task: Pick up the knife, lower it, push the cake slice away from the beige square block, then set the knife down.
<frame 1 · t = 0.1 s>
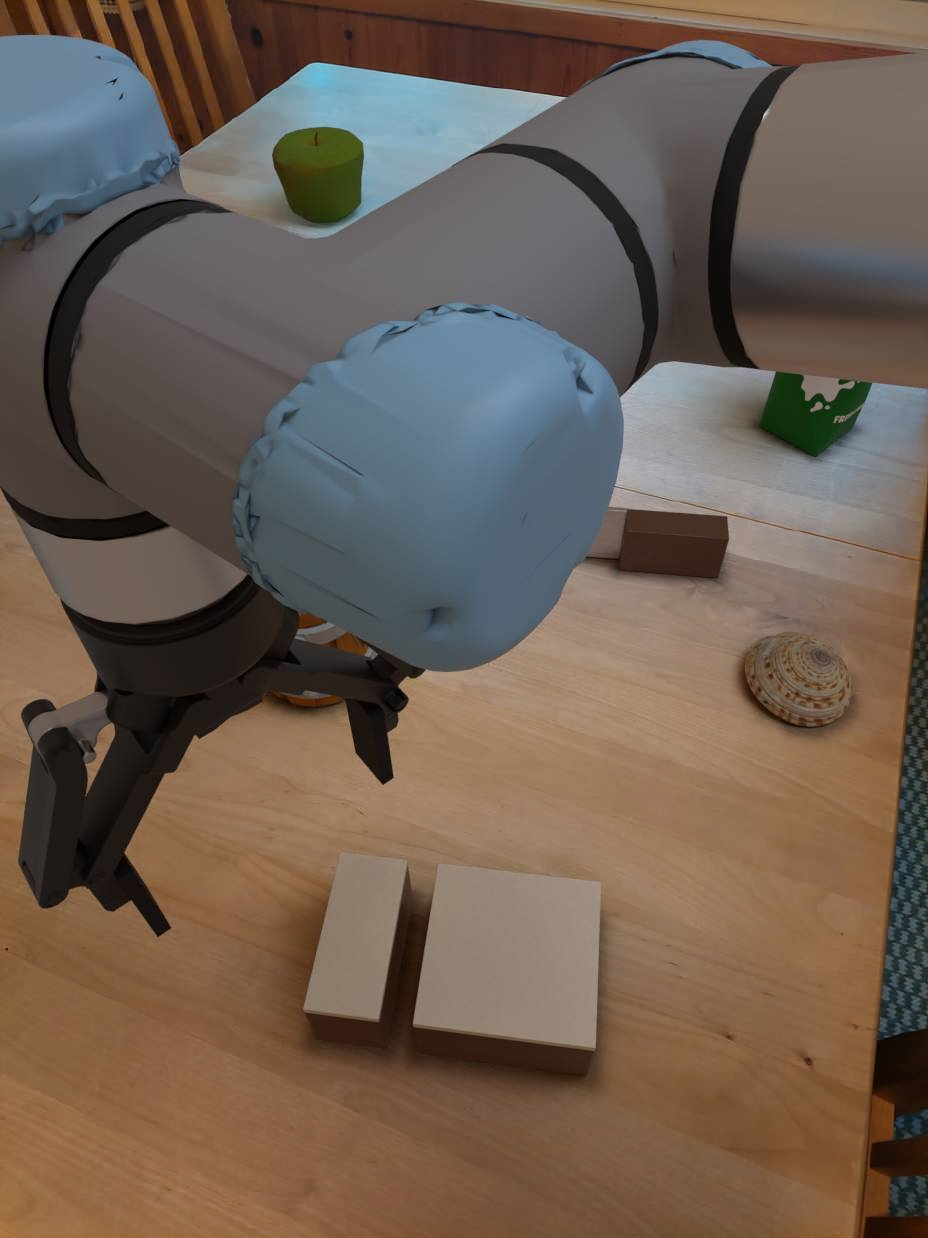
hand: (270, 835, 48), 17 cm above the table, tool pointing down, fingers open, 13 cm apart
beige square block: (509, 983, 59), on the table
mug: (296, 649, 78), on the table
knife: (668, 562, 84), on the table
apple: (326, 214, 131), on the table
planter: (176, 427, 99), on the table
saucer: (373, 471, 93), on the table
pastry: (164, 523, 89), on the table
milk carton: (805, 429, 97), on the table
seashell: (792, 685, 75), on the table
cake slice: (367, 965, 60), on the table
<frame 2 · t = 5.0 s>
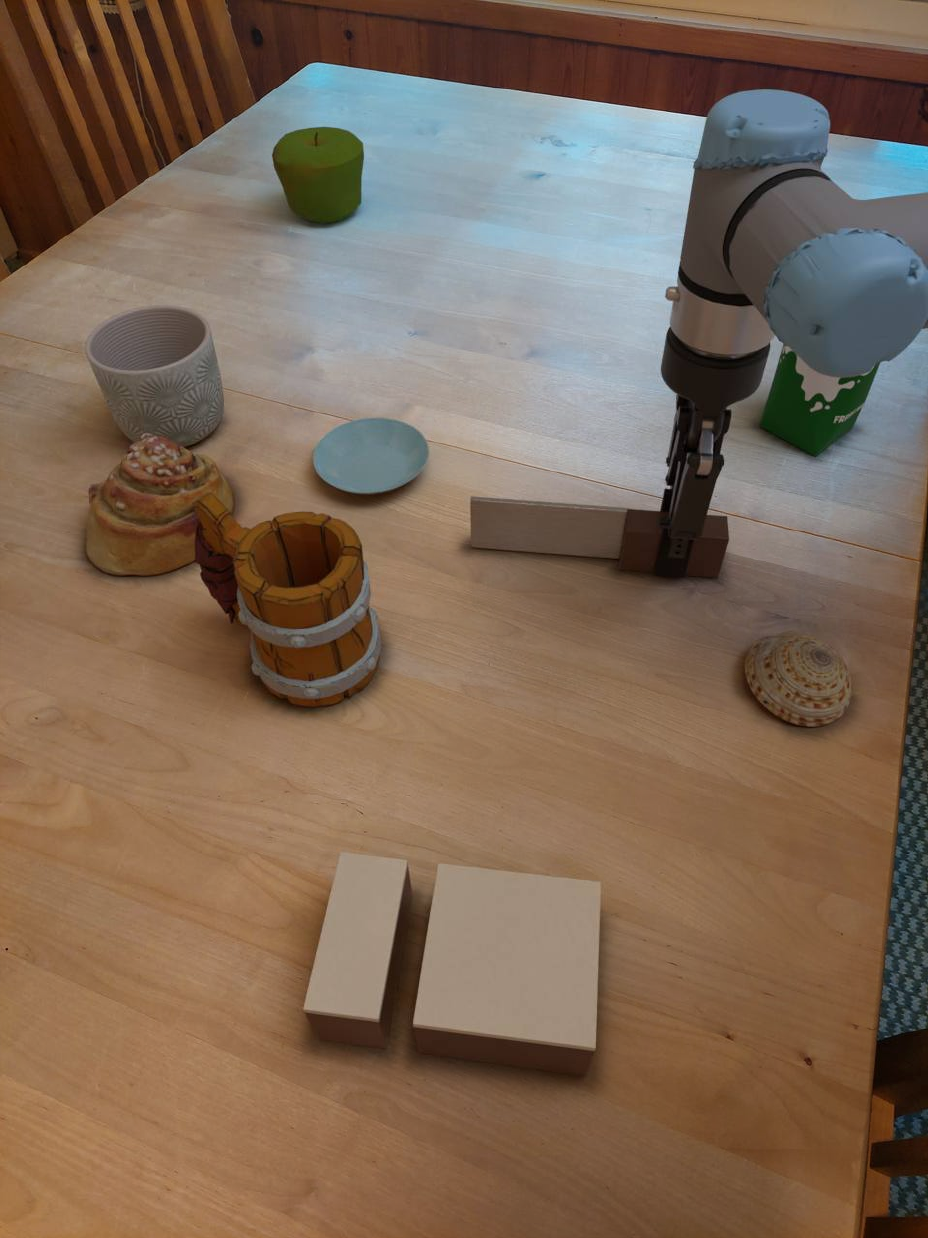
hand: (669, 558, 83), 1 cm above the table, tool pointing down, fingers closed on knife, 3 cm apart
knife: (668, 562, 84), on the table, touching gripper
everything else where it was.
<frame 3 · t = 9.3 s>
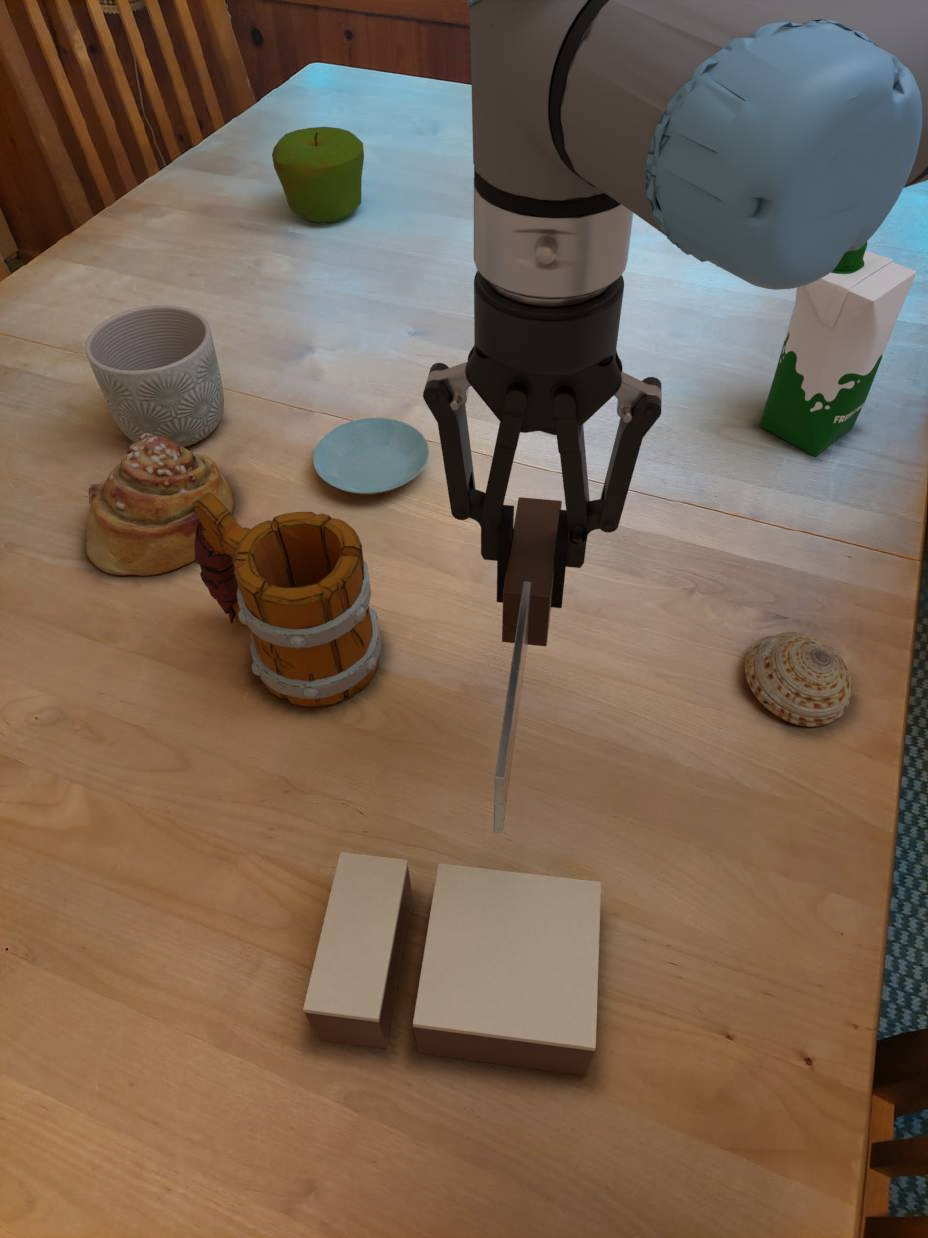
hand: (530, 590, 62), 14 cm above the table, tool pointing down, fingers closed on knife, 3 cm apart
knife: (530, 595, 63), point 14 cm above the table, touching gripper
everything else where it was.
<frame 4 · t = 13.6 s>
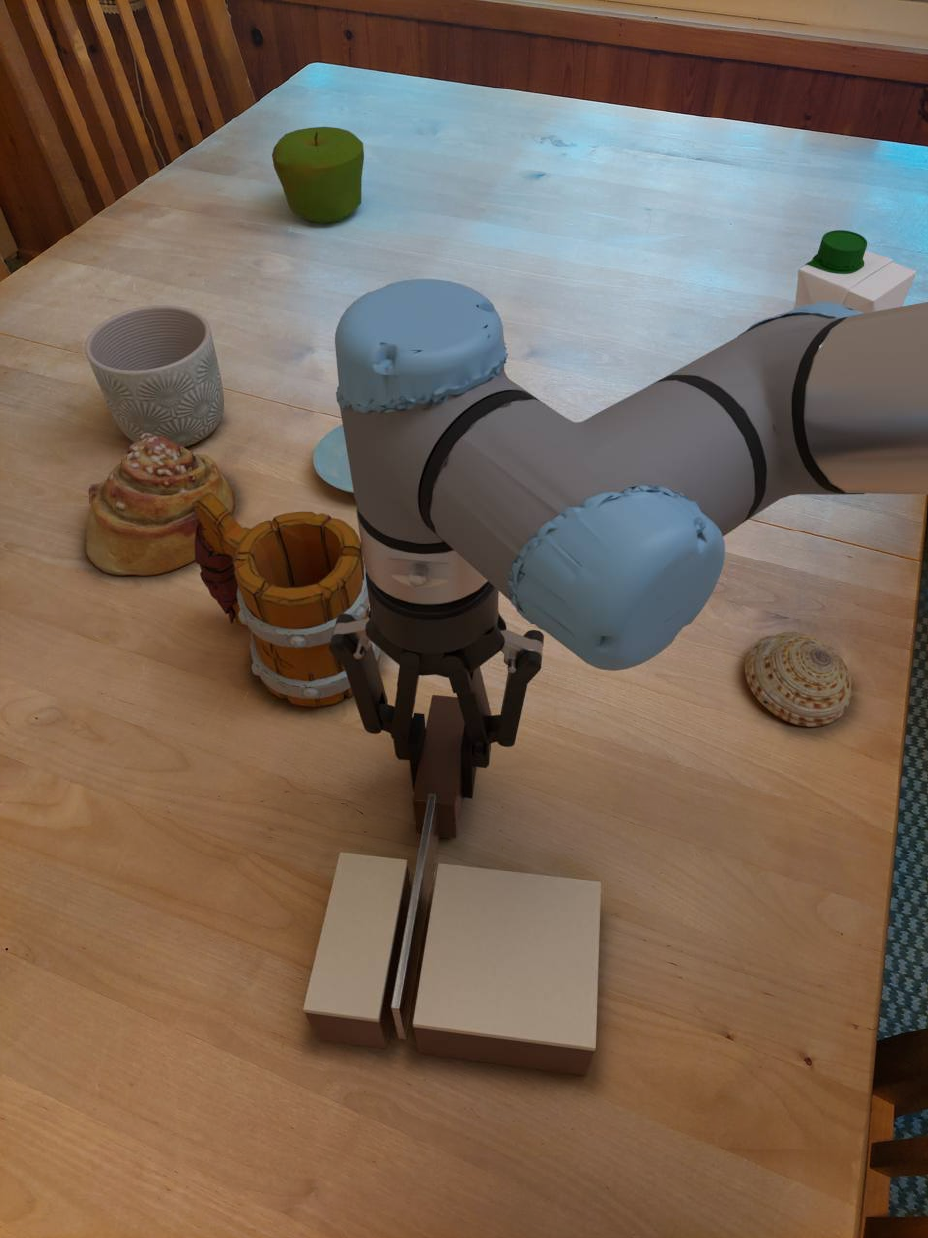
hand: (445, 779, 68), 1 cm above the table, tool pointing down, fingers closed on knife, 3 cm apart
knife: (445, 782, 68), point 1 cm above the table, touching gripper
everything else where it was.
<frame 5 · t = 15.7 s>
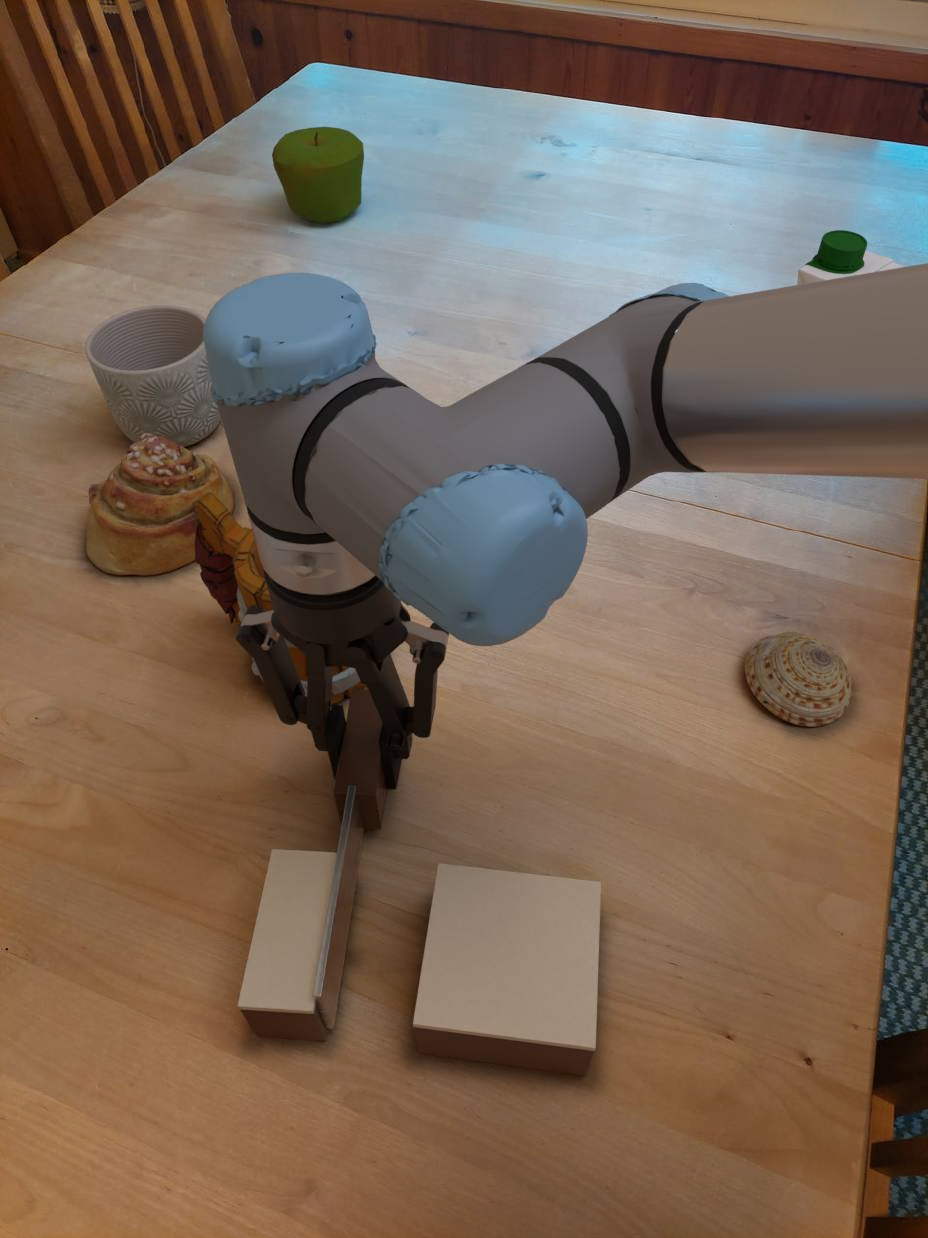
hand: (369, 770, 68), 1 cm above the table, tool pointing down, fingers closed on knife, 3 cm apart
knife: (369, 775, 69), point 1 cm above the table, touching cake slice, gripper
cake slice: (305, 960, 60), on the table, touching knife
everything else where it was.
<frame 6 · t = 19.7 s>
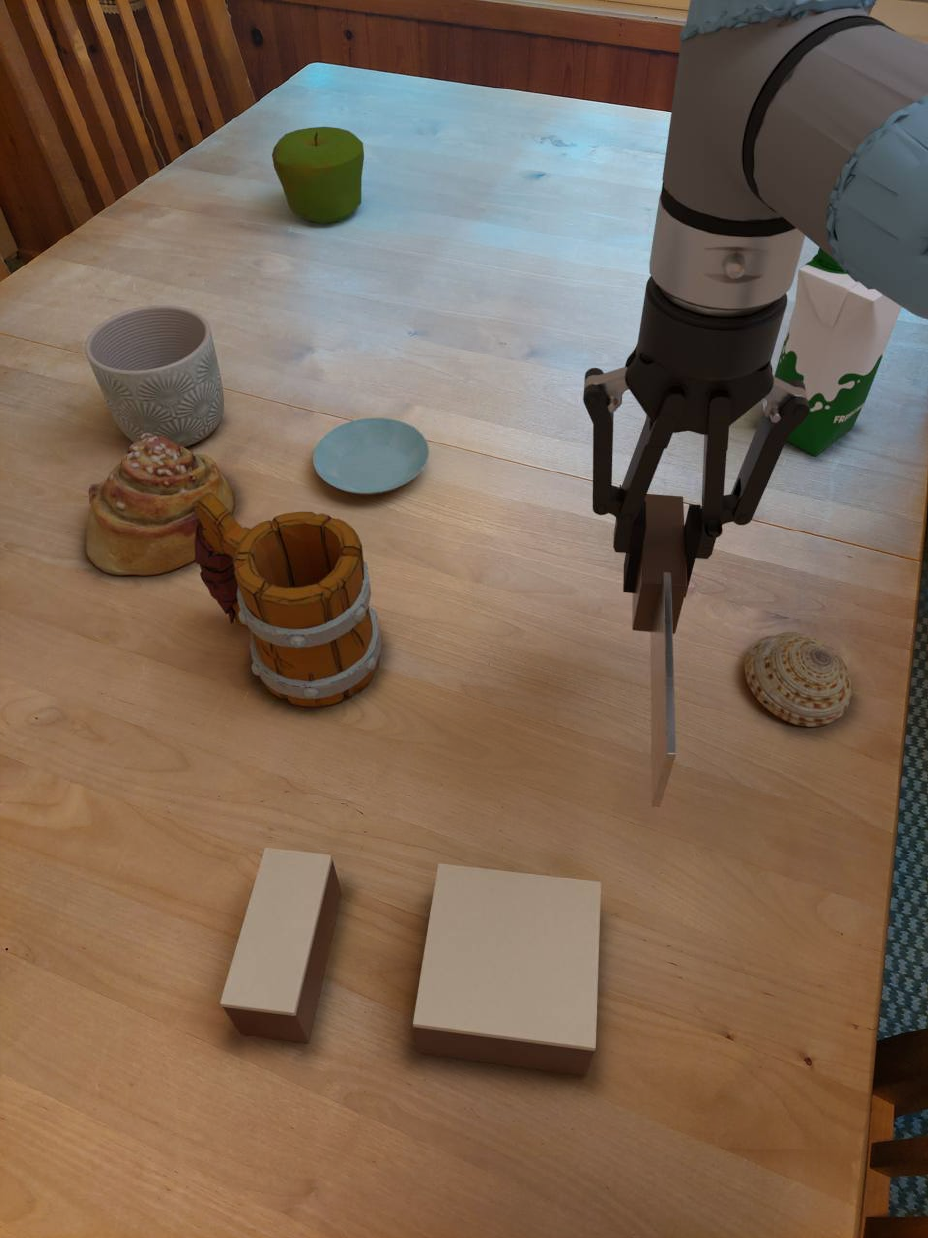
hand: (654, 580, 66), 12 cm above the table, tool pointing down, fingers closed on knife, 3 cm apart
knife: (653, 586, 66), point 11 cm above the table, touching gripper
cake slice: (293, 960, 60), on the table
everything else where it was.
when the fingers open (1 cm above the table, at t = 22.4 s): knife stays where it is, on the table.
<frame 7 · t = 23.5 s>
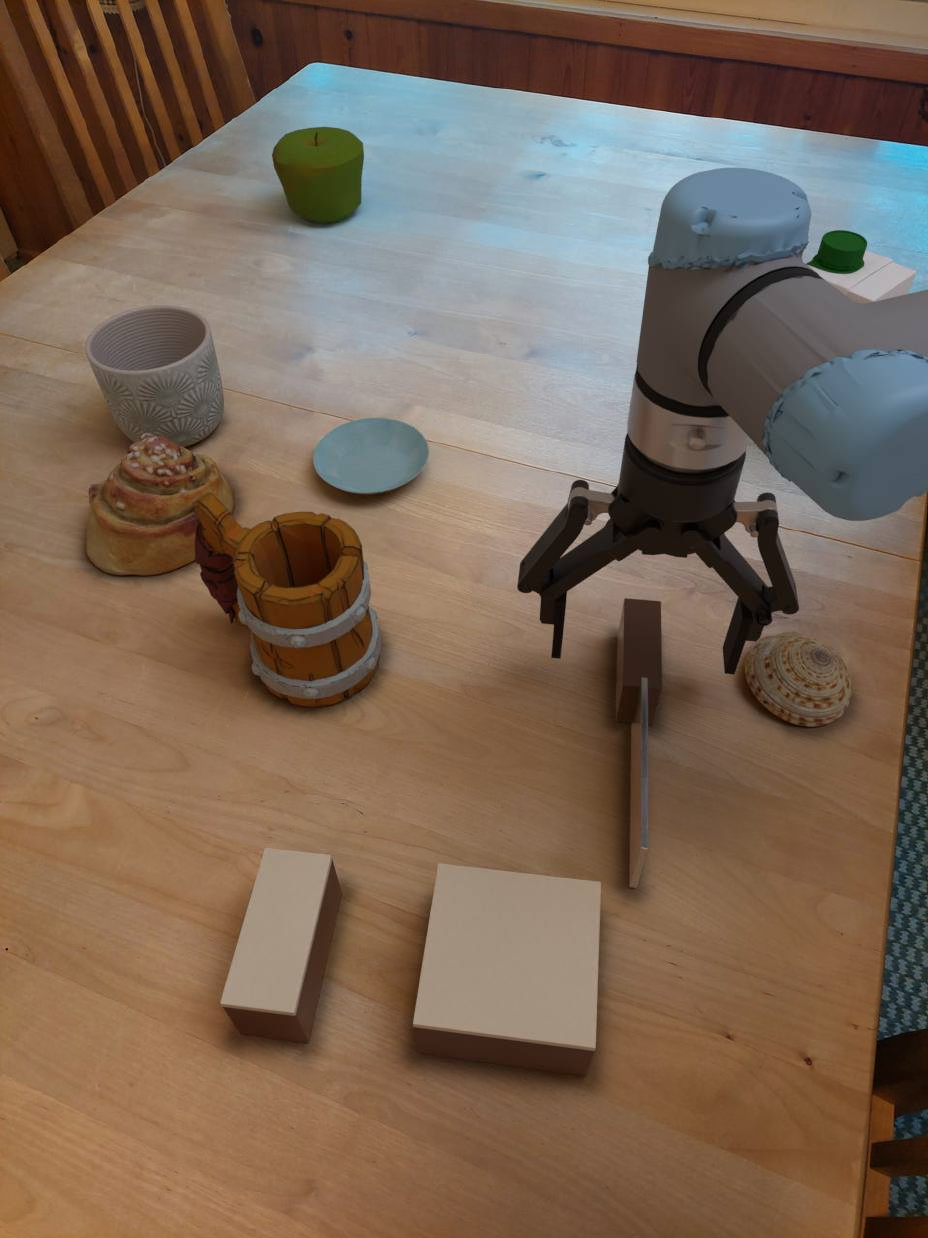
hand: (641, 653, 72), 4 cm above the table, tool pointing down, fingers open, 13 cm apart
knife: (634, 679, 75), on the table
everything else where it was.
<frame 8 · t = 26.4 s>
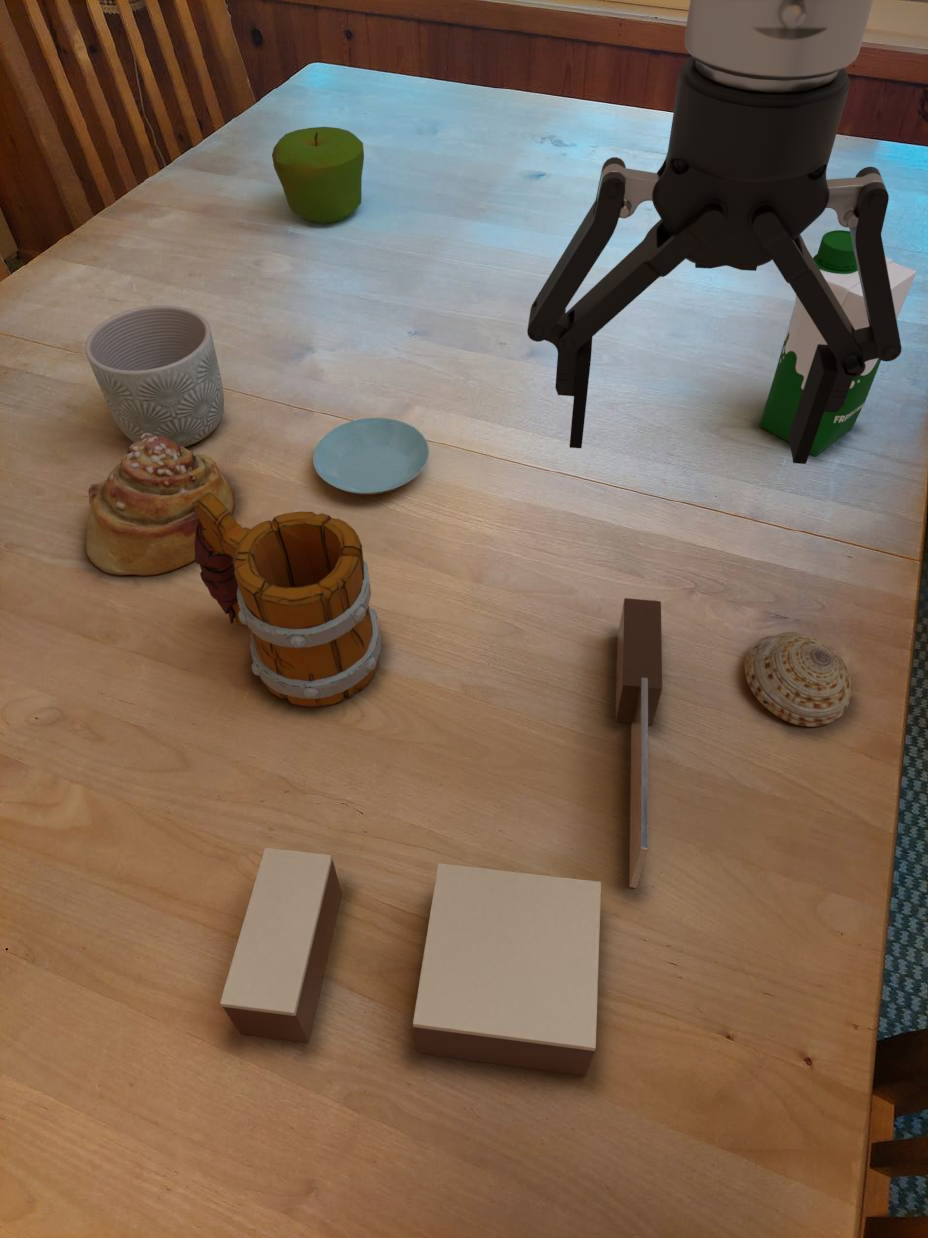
hand: (685, 442, 56), 25 cm above the table, tool pointing down, fingers open, 13 cm apart
nothing on the table moved.
at the end: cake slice moved 5.0 cm from its start; beige square block moved 0.0 cm from its start; the gripper is holding nothing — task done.
